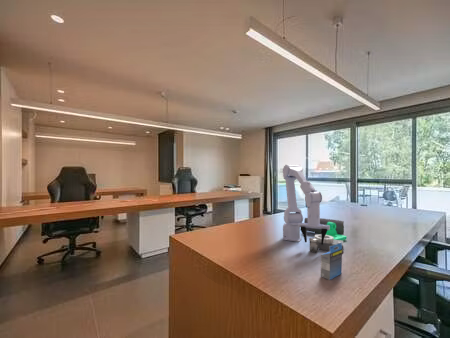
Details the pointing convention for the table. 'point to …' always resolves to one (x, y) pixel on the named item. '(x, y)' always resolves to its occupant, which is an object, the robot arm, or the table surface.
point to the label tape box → (332, 262)
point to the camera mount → (333, 232)
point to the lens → (313, 245)
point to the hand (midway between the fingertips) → (313, 242)
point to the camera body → (327, 242)
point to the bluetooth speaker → (324, 222)
